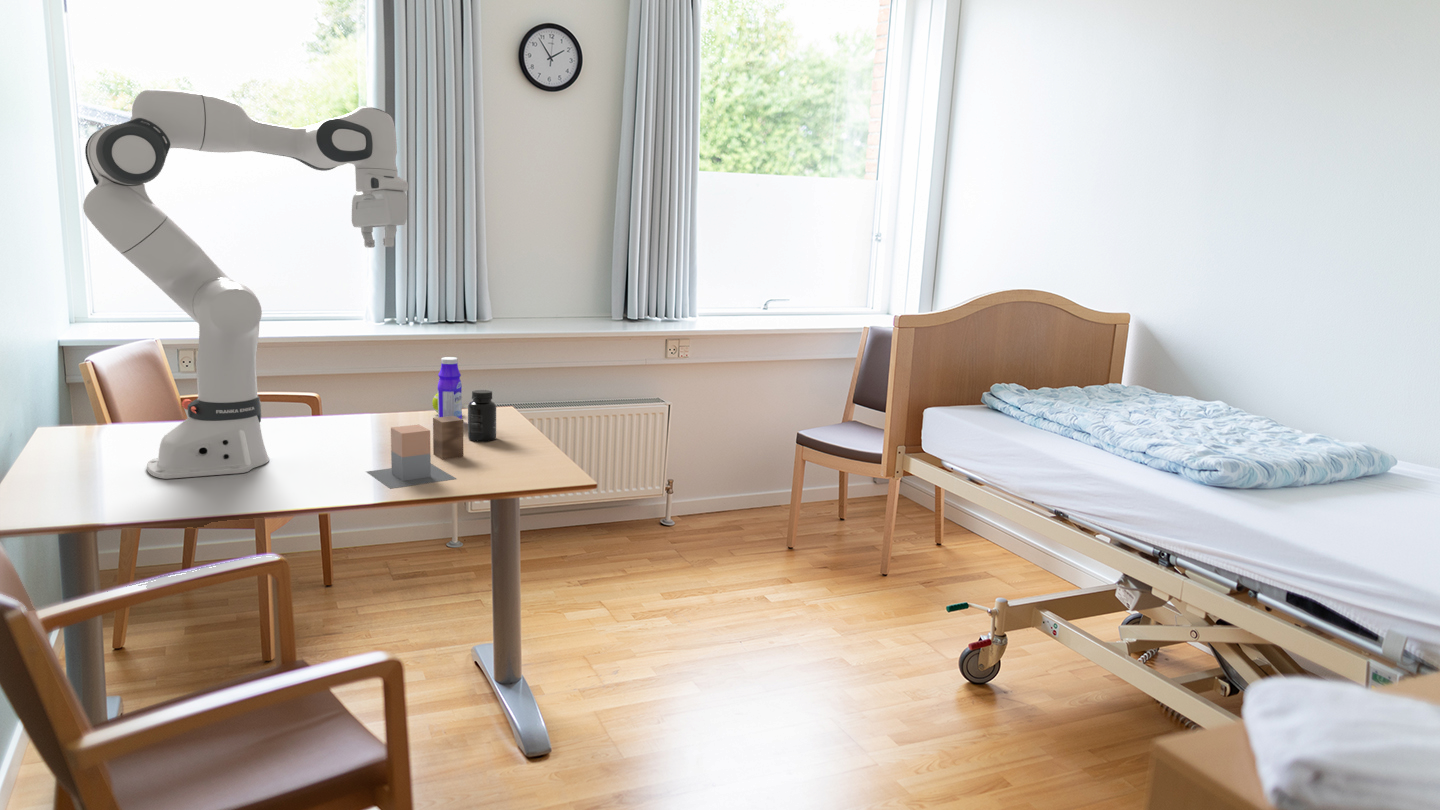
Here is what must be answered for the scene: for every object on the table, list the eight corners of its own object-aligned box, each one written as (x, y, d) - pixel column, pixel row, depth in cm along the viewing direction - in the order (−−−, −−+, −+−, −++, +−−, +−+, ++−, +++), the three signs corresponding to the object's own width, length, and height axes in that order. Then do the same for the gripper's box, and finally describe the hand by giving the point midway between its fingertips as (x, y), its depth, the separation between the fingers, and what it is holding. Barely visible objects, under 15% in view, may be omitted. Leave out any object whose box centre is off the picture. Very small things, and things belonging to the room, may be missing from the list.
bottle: (456, 426, 237) (456, 360, 234) (434, 425, 237) (434, 359, 234) (464, 420, 244) (464, 356, 241) (443, 419, 244) (443, 355, 241)
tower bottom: (402, 480, 188) (402, 457, 187) (391, 473, 193) (391, 450, 192) (430, 476, 192) (430, 453, 191) (419, 469, 196) (419, 447, 195)
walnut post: (442, 461, 205) (442, 422, 204) (433, 456, 209) (432, 417, 207) (463, 458, 209) (463, 420, 207) (454, 453, 212) (453, 415, 210)
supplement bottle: (501, 439, 227) (502, 392, 224) (477, 443, 222) (477, 395, 220) (486, 434, 231) (486, 387, 229) (462, 438, 226) (462, 390, 224)
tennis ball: (457, 417, 248) (457, 393, 246) (431, 417, 246) (431, 393, 245) (458, 412, 254) (458, 388, 253) (433, 412, 253) (433, 388, 251)
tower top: (402, 457, 187) (401, 433, 186) (391, 450, 192) (390, 427, 191) (430, 453, 191) (430, 430, 190) (419, 447, 195) (418, 424, 194)
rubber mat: (390, 490, 183) (390, 488, 183) (365, 473, 193) (365, 471, 193) (456, 480, 192) (456, 478, 192) (430, 464, 202) (430, 463, 202)
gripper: (343, 186, 209) (345, 247, 211) (384, 179, 195) (386, 245, 196) (369, 188, 213) (372, 248, 215) (411, 182, 199) (413, 246, 201)
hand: (379, 247), depth 206 cm, fingers open, 8 cm apart
